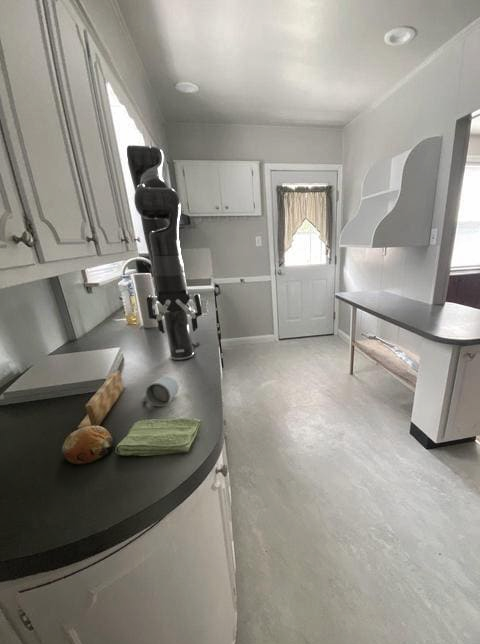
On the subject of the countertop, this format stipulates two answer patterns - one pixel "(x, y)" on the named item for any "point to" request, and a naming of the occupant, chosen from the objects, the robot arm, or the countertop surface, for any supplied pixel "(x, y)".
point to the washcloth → (159, 437)
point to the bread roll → (87, 444)
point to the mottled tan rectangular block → (103, 400)
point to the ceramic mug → (161, 391)
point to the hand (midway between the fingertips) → (179, 331)
